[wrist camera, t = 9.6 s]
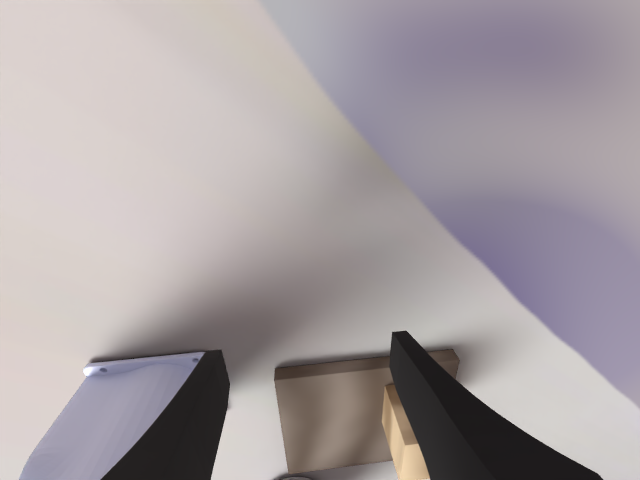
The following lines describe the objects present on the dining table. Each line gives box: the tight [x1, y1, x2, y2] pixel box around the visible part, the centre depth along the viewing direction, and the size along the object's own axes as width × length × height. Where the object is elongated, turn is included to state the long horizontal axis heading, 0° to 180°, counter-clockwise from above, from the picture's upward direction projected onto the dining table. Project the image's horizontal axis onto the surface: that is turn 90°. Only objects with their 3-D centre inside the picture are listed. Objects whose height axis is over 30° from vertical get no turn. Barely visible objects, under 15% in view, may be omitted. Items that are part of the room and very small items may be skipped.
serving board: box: [274, 349, 459, 474], centre depth 29 cm, size 16×14×1 cm
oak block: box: [382, 385, 430, 480], centre depth 25 cm, size 5×5×5 cm
